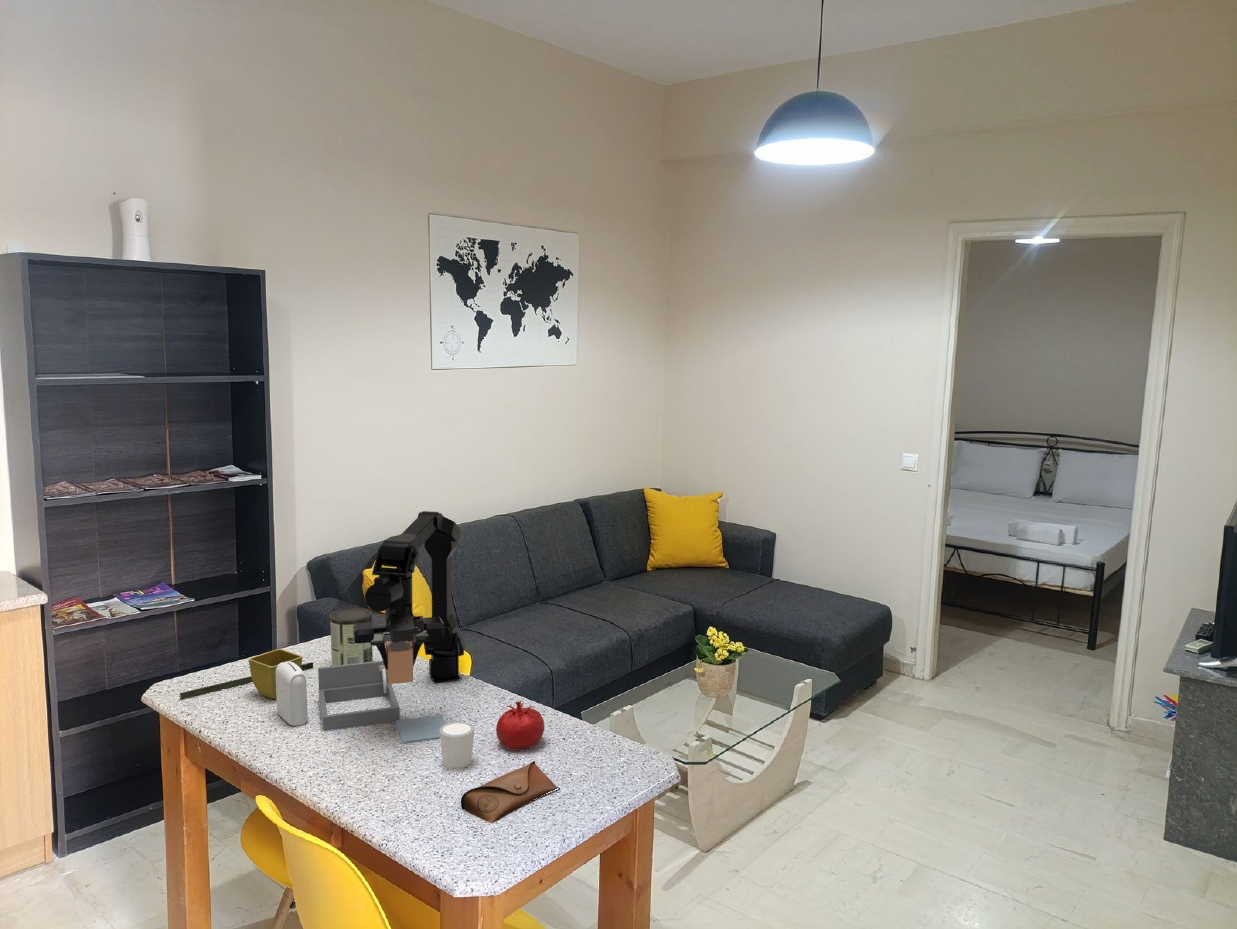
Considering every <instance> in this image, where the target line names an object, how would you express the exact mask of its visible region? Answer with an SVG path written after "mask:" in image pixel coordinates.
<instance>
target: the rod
mask: <svg viewBox="0 0 1237 929" xmlns="http://www.w3.org/2000/svg"><path fill="white" fill-rule="evenodd" d="M311 669H314V662H313V661H312V662H308V663H302V666H301V670H302V671H303V672H304V671H308V670H311ZM250 682H253V681H252V677H251V675H249V676H246V677H242V678H238V679H234V680H229V681H224V682H221V683H215V684H212V685H209V686H208V685H207V686H203V687H201V688H196V689H195V688H194V689H191V690H188V691H187V690H186V691H183V692H180V693H179V699H180V700H181V701H183V700H187V699H190V698H196V697H199V696H203V695H206V694H207V693H208V694H211V693H210V692H212V693H216V692H219V691H220V690H221V691H223V690H222V689H225V690H228V689H233V688H236V686H237V687H240V686H239V685H241V686H245V684H246V685H249V684H248V683H250ZM250 684H251V683H250ZM232 687H233V688H232ZM208 694H207V695H208ZM195 696H196V697H195Z"/></svg>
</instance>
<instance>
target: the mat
mask: <svg viewBox="0 0 1237 929" xmlns="http://www.w3.org/2000/svg"><path fill="white" fill-rule="evenodd" d="M445 724H447V723H446V722H445V719H444V717H443V715H442V713H441V714H434V715H426V716H419V717H412V718H411V717H410V718H405V719H400V720H396V721H395V725H396V728H397V731H398V734H399V737H400V739H401V743H402V744H410V743H416V742H424V741H430V740H436V739H437V740H438V739H440V731H439V729H440V728H441V727H442V726H443V725H445Z"/></svg>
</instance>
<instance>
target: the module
mask: <svg viewBox="0 0 1237 929" xmlns="http://www.w3.org/2000/svg"><path fill="white" fill-rule="evenodd" d="M385 648H386V654H387V661H388V670H386V674H387V678H388V682H389V684H403V683H413V682H414V667H413V649H412V643H411V641H409V642H408V641H401V642H398V643H394V642H392V641H391V640H390V641H385Z"/></svg>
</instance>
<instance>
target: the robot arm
mask: <svg viewBox="0 0 1237 929" xmlns="http://www.w3.org/2000/svg"><path fill="white" fill-rule="evenodd" d="M460 538H461V530H460V527H459V526H458V525H457V523H456V522H455V521H454V520H452V519H450V518H448V517H445V516H444V515H443V514H442V513H441V512H439V511H429V510H424V511H423V510H422V511H420V512H418V515H417V517H416V519H414V521H412V522H411V523H410V525H409V526H408V527H407V528H406V529H405V530H404V531H403V532H401V533H400V534H396V535H393V536H390V537H387V538H386V539H384V541H383V542H382V543H381V544H380V545H379V548H378V551H377V555H376V558H375V561H374V565H373V568H372V571H371V572H372V576H377V577H375V578H373V584H372V585H370V586H369V587H367V589H366V591H365V594H364V600H365V603H366V605H367V606H368V608H370V609H371V610H372V611H375V612H384V620H385V622H384V624H385V625H381V626H374V625H373V621H372V622H367V623H356V624H355V625H354V626H353V637H354V642H355V643H357V644H359V643H370V645H372V647H373V646H376V649H377V650H378V652H379V654H380V657H381V659H382V660H381V661H383V663H384V666H385V668H386V670H388V661H387V654H386V641H385V639H384V638H385V637H384V636H388V635H389V636H390V641H392V642H394V643H398V642H401V641H408V642H409V641H410V642H411V646H412V649H413V668H414V666H415V664H416V660H417V657H418V654H419V652H420V649H421V648H422V646H423V648H424V654H425V655H426V656H428V655H429V656H431V657H430V658H429V659H428V675H429V677H430V678H431V680H432V681H433V683H434V684H435V683H445V682H450V681H451V682H452V681H459V680H461V676H460V669H459V668H460V667H459V666H460V664H459V662H460V661H459V658H460V657H461V656H465V644H466V642H465V641H464V639H463V637H462V634H460V630H459V623H458V622H457V620H456V618H455V617H454V616H453V614H452V613H453V611H452V606H453V605H452V603H453V602H452V600H453V598H452V594H453V593H452V556H453V555H454V553H455V551H456V549H457V548H458V547H459V541H460ZM422 545H423V548H424V550H425V551H426V553H427V554H428V557H430V559H431V562H430V563H431V565H430V566H431V616H430V617H428V616H427V617H424V616H423V615H417V616H416V615H414V613H413V574H414V573H415V568H416V566H417V562H418V560H419V555H420V553H419V549H420V548H421V547H422Z"/></svg>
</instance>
